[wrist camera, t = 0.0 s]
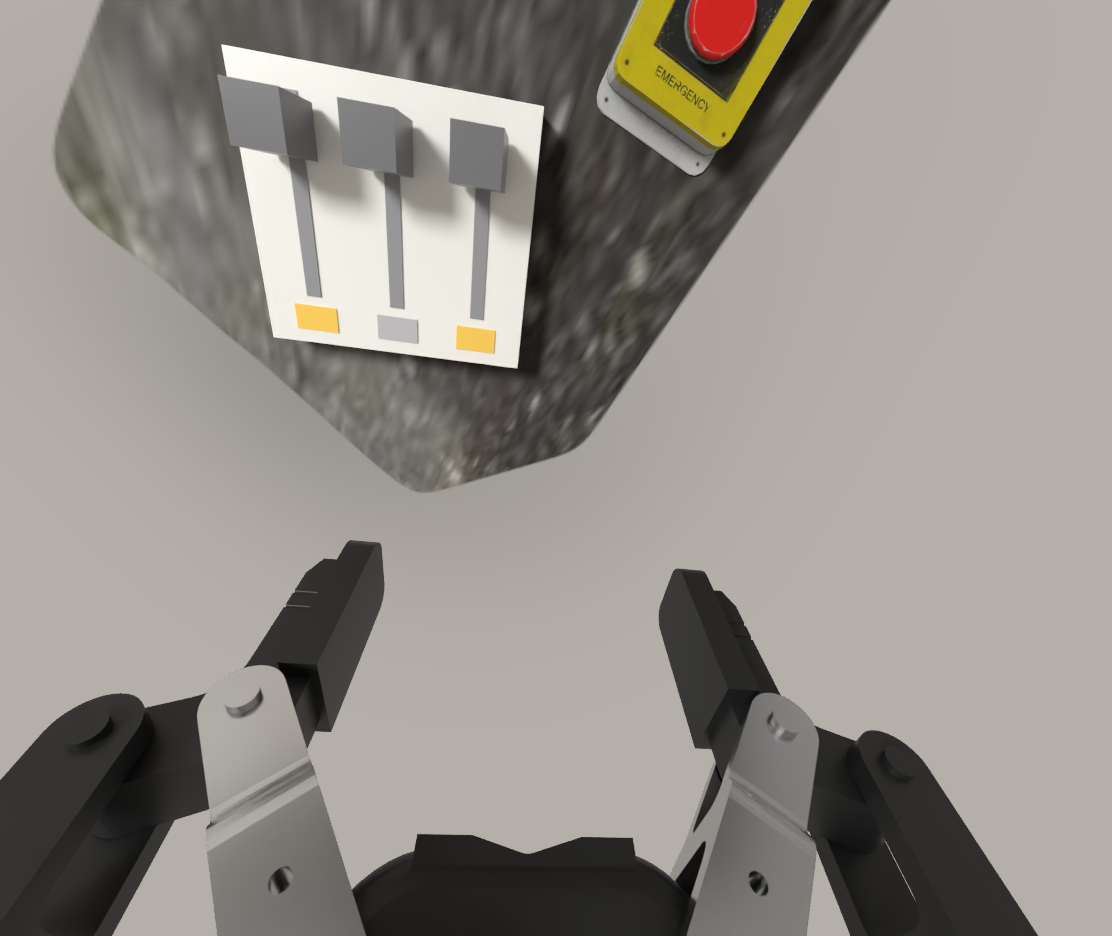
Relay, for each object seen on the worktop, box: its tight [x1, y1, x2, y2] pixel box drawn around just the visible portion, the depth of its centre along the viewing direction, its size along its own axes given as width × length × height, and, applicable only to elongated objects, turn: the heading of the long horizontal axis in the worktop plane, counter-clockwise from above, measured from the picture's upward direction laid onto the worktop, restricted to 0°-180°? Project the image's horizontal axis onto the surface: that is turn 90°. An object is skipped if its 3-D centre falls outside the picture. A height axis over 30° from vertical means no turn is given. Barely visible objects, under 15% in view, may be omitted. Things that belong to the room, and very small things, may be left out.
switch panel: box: [221, 44, 544, 368], centre depth 32 cm, size 17×19×3 cm
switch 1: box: [218, 75, 318, 162], centre depth 25 cm, size 3×3×4 cm
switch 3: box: [449, 118, 509, 194], centre depth 27 cm, size 3×3×4 cm
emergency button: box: [597, 0, 812, 176], centre depth 26 cm, size 9×4×15 cm
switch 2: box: [337, 97, 414, 178], centre depth 26 cm, size 3×3×4 cm
